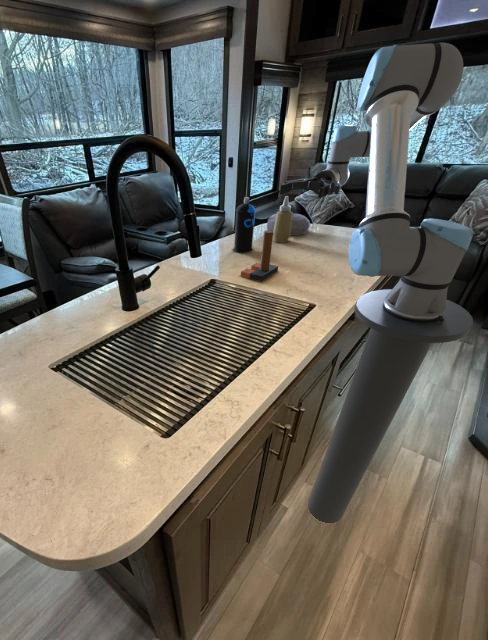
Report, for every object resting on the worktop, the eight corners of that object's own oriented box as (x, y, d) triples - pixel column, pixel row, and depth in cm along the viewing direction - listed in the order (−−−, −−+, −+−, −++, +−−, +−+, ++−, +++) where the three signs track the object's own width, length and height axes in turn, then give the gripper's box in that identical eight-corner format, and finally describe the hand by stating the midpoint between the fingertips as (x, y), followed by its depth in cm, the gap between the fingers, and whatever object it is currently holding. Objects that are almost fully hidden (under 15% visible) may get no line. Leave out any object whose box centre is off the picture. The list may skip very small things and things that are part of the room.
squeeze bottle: (288, 244, 150) (295, 198, 138) (270, 243, 152) (275, 197, 140) (290, 239, 155) (297, 194, 143) (273, 238, 158) (278, 194, 146)
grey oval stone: (262, 232, 165) (300, 238, 155) (264, 213, 160) (304, 218, 150) (277, 225, 174) (314, 230, 164) (279, 207, 168) (317, 211, 159)
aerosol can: (229, 250, 146) (232, 198, 133) (240, 245, 151) (243, 194, 137) (245, 254, 142) (249, 200, 129) (256, 249, 146) (260, 196, 133)
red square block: (255, 275, 124) (255, 270, 122) (249, 278, 121) (250, 273, 120) (246, 273, 126) (246, 268, 124) (240, 276, 123) (240, 271, 122)
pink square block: (265, 269, 128) (265, 264, 127) (260, 272, 125) (260, 267, 124) (256, 267, 130) (256, 262, 129) (250, 270, 127) (251, 265, 126)
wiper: (277, 271, 126) (283, 228, 116) (261, 281, 119) (266, 236, 109) (266, 268, 128) (270, 226, 118) (249, 278, 121) (253, 234, 111)
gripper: (357, 196, 118) (334, 208, 106) (291, 191, 130) (265, 200, 118) (363, 171, 113) (341, 180, 101) (295, 167, 125) (267, 175, 113)
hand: (300, 191), depth 110 cm, fingers open, 13 cm apart
